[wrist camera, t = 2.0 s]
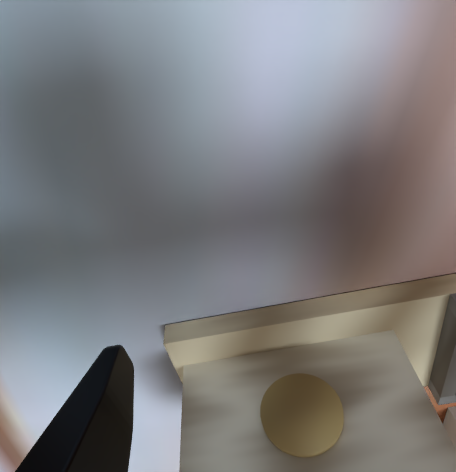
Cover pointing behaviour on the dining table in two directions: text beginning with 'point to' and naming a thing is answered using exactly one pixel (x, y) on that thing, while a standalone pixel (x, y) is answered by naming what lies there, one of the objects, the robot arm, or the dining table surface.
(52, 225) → the dining table surface
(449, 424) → the grey block
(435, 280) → the mounted unit
